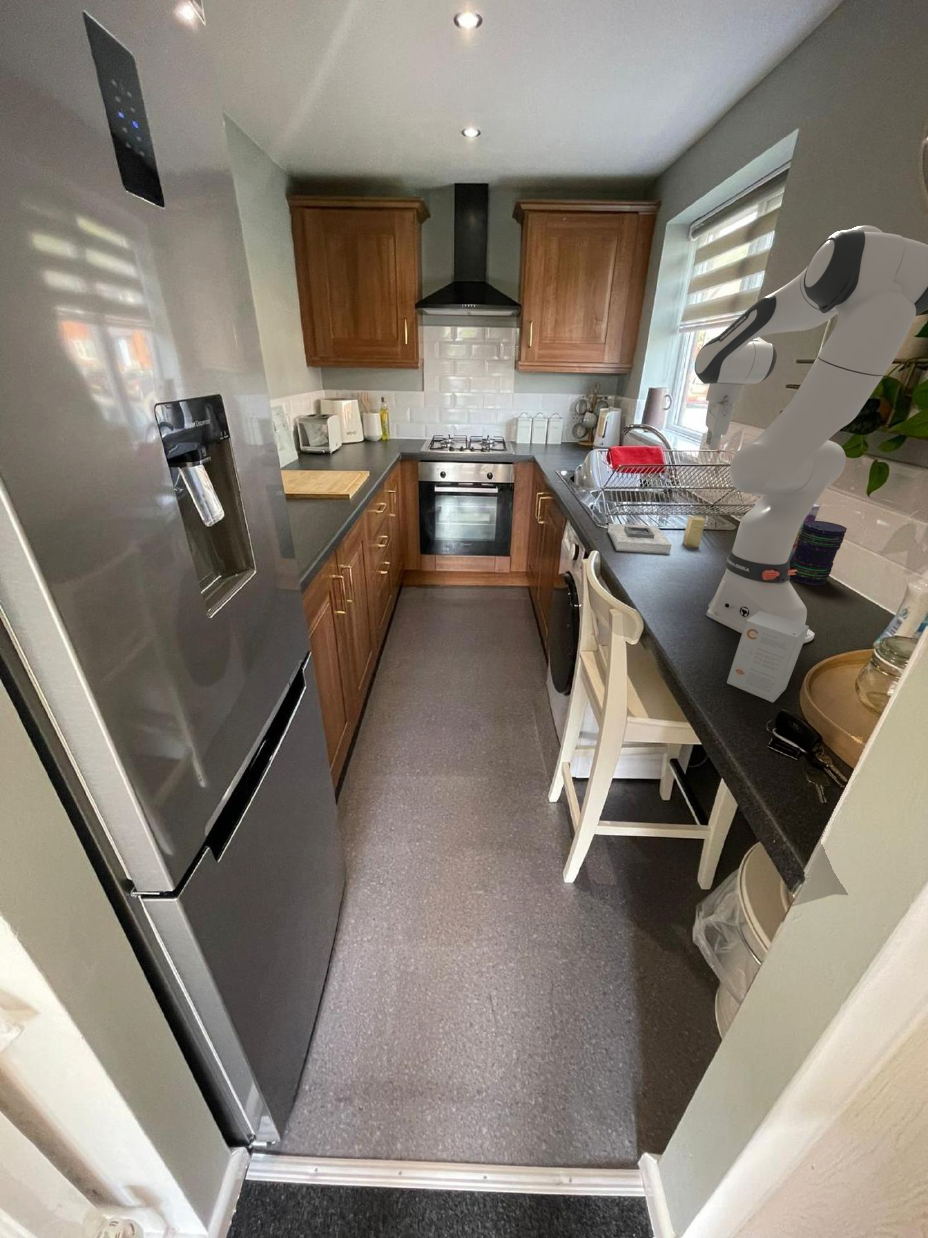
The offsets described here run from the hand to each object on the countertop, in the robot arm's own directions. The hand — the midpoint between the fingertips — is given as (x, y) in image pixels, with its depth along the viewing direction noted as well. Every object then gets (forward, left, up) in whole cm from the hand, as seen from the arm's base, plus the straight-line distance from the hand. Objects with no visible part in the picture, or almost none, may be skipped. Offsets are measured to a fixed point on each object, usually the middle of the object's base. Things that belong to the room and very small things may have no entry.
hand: (710, 446), depth 143 cm
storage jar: (-28, -18, -31) cm, 46 cm away
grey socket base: (+9, +12, -31) cm, 34 cm away
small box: (-69, +37, -31) cm, 84 cm away
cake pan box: (-15, -17, -31) cm, 39 cm away
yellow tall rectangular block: (+3, -4, -31) cm, 31 cm away
